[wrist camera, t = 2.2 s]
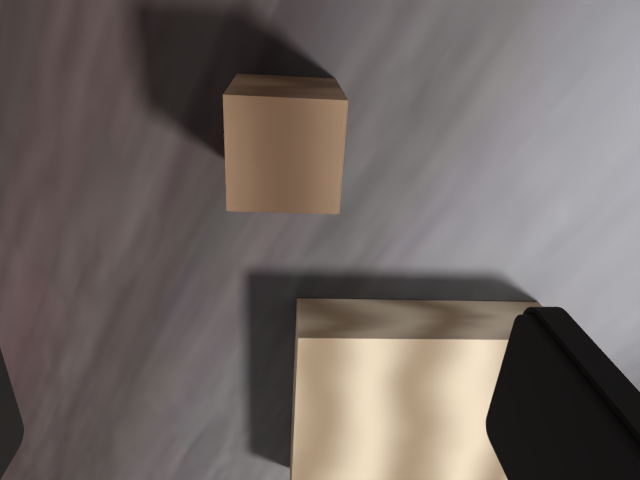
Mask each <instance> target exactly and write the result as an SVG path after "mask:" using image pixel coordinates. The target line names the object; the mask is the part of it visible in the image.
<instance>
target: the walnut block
mask: <svg viewBox="0 0 640 480" xmlns="http://www.w3.org/2000/svg"><path fill="white" fill-rule="evenodd" d="M347 111H348V99H347V97H346V96H345V94H344V92H343V91H342V89H341V87H340V86H339V84H338V82H337V80H336V79H335V78H319V77H298V76H278V75H258V74H238V73H237V74H236V76H235V77H234V79H233V80H232V82H231V83H230V85H229V86H228V88H227V89H226V91H225V92H224V94H223V115H224V144H225V173H226V201H227V211H246V212H283V213H320V214H339V210H340V198H341V185H342V173H343V160H344V148H345V135H346V123H347Z"/></svg>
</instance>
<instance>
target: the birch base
mask: <svg viewBox="0 0 640 480" xmlns="http://www.w3.org/2000/svg"><path fill="white" fill-rule="evenodd" d="M528 307H542V306H541V305H540V303H539V302H508V301H440V300H371V299H302V298H297V310H296V334H295V358H294V382H293V406H292V430H291V453H290V480H508V479H507V477H506V475H505V473H504V471H503V469H502V466H501V464H500V462H499V460H498V458H497V456H496V454H495V452H494V449H493V447H492V445H491V443H490V441H489V439H488V436H487V432H486V416H487V413H488V410H489V406H490V403H491V399H492V396H493V392H494V389H495V385H496V382H497V378H498V375H499V371H500V368H501V364H502V361H503V358H504V354H505V351H506V347H507V344H508V340H509V337H510V333H511V330H512V326H513V323H514V320H515V318H516V317H517V315H520V314H523V312H524V311H525V310H526V308H528Z"/></svg>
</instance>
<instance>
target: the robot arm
mask: <svg viewBox="0 0 640 480" xmlns="http://www.w3.org/2000/svg"><path fill="white" fill-rule="evenodd" d="M486 432H487V436H488V439H489V441H490V443H491V445H492V447H493V449H494V452H495V454H496V456H497V458H498V460H499V462H500V464H501V466H502V469H503V471H504V473H505V475H506V477H507V479H508V480H640V392H639V391H638V390H637V389H636V388H635V386H634V385H633V384H632V383H631V382H630V381H629V380H628V379H627V378H626V377H625V375H624V374H623V373H622V372H621V371H620V370H619V369H618V368H617V367H616V366H615V365H614V363H613V362H612V361H611V360H610V359H609V358H608V357H607V356H606V355H605V354H604V352H603V351H602V350H601V349H600V348H599V347H598V346H597V345H596V344H595V343H594V342H593V340H592V339H591V338H590V337H589V336H588V335H587V334H586V333H585V332H584V331H583V329H582V328H581V327H580V326H579V325H578V324H577V323H576V322H575V321H574V320H573V319H572V317H571V316H570V315H569V314H568V313H567V312H566V311H565V310H564V309H562V308H560V307H528V308H526V310H525V311H524V312H523V314H520V315H517V317H516V318H515V320H514V323H513V326H512V330H511V333H510V337H509V340H508V344H507V347H506V351H505V354H504V358H503V361H502V364H501V368H500V371H499V375H498V378H497V382H496V385H495V389H494V392H493V396H492V399H491V403H490V406H489V410H488V413H487V416H486ZM23 434H24V426H23V422H22V418H21V415H20V412H19V408H18V405H17V402H16V398H15V395H14V392H13V389H12V385H11V382H10V379H9V375H8V372H7V369H6V365H5V362H4V359H3V355H2V352H1V349H0V479H1V478H2V476H3V474H4V472H5V471H6V469H7V467H8V466H9V464H10V462H11V461H12V459H13V457H14V455H15V454H16V452H17V450H18V449H19V447H20V445H21V442H22V439H23Z"/></svg>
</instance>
